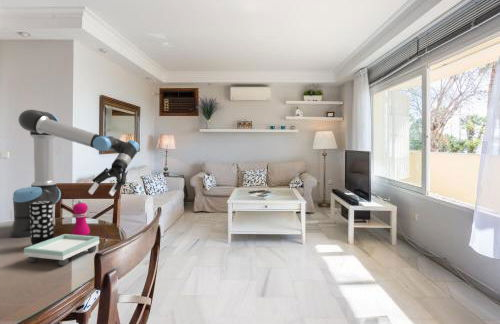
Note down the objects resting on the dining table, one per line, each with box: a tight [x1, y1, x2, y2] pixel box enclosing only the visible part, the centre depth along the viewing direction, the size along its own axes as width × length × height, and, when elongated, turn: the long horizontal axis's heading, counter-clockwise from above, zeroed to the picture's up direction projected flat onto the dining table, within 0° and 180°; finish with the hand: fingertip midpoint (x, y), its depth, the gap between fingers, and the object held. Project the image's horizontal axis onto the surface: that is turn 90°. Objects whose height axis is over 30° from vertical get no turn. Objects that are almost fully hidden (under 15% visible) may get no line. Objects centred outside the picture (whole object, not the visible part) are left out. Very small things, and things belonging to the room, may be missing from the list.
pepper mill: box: [71, 199, 91, 236], centre depth 130 cm, size 7×7×20 cm
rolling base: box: [23, 233, 100, 267], centre depth 112 cm, size 18×18×6 cm
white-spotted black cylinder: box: [30, 201, 55, 246], centre depth 124 cm, size 8×8×20 cm
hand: (100, 194), depth 141 cm, fingers open, 13 cm apart
